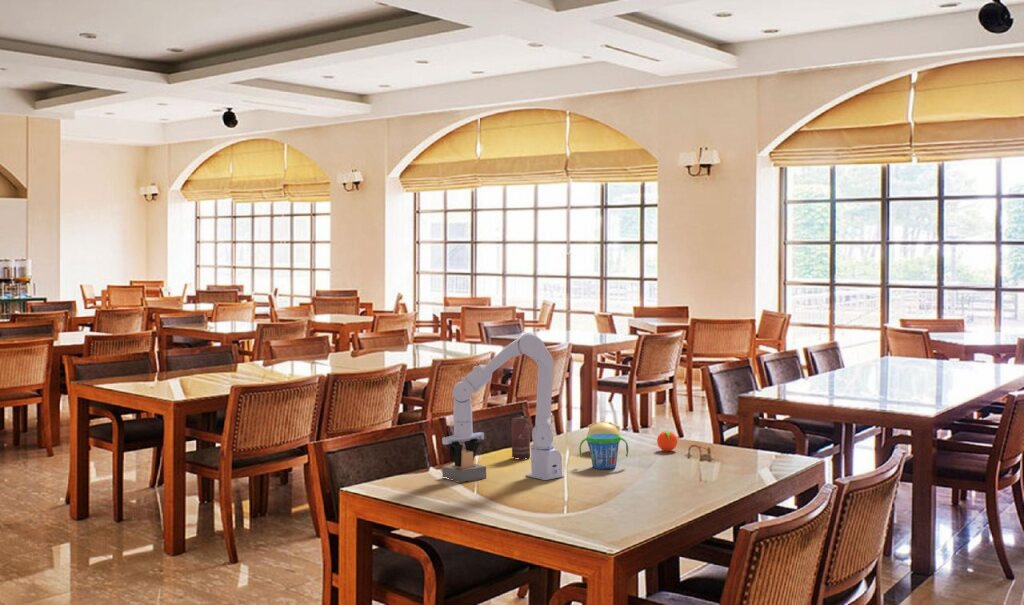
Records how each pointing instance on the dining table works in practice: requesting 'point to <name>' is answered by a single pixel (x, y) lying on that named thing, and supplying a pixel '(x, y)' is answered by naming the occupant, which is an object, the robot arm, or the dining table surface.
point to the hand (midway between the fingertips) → (464, 465)
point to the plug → (466, 459)
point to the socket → (464, 473)
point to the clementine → (667, 441)
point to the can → (520, 437)
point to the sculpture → (603, 428)
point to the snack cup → (603, 449)
